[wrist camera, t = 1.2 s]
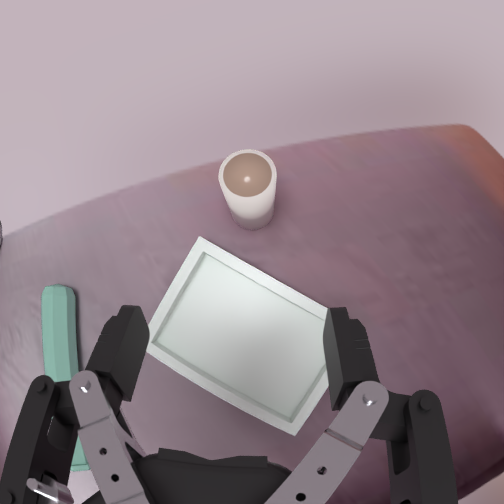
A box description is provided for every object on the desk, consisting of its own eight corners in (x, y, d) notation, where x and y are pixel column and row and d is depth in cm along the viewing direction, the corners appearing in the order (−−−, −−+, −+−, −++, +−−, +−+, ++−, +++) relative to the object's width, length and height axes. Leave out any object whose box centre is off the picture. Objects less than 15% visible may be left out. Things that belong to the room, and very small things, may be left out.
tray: (145, 342, 33) (137, 345, 31) (204, 240, 35) (199, 236, 33) (293, 427, 31) (294, 436, 29) (355, 326, 33) (361, 327, 30)
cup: (223, 217, 36) (207, 185, 26) (244, 182, 36) (237, 140, 26) (260, 237, 35) (258, 211, 25) (281, 201, 36) (286, 164, 26)
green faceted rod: (31, 280, 29) (53, 468, 25) (73, 282, 31) (94, 473, 27) (45, 285, 35) (62, 451, 30) (83, 286, 37) (99, 455, 32)
